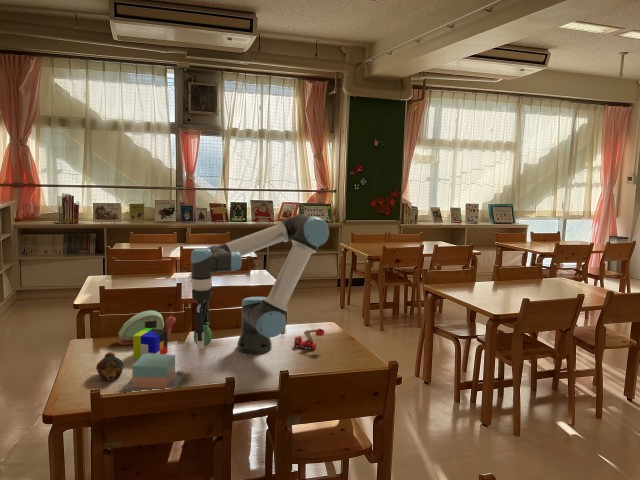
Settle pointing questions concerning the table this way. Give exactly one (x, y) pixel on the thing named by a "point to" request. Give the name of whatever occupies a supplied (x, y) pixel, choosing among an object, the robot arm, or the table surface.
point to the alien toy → (205, 335)
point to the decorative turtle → (110, 367)
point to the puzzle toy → (150, 342)
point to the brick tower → (154, 373)
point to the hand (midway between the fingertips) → (202, 344)
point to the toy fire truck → (309, 342)
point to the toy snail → (144, 325)
